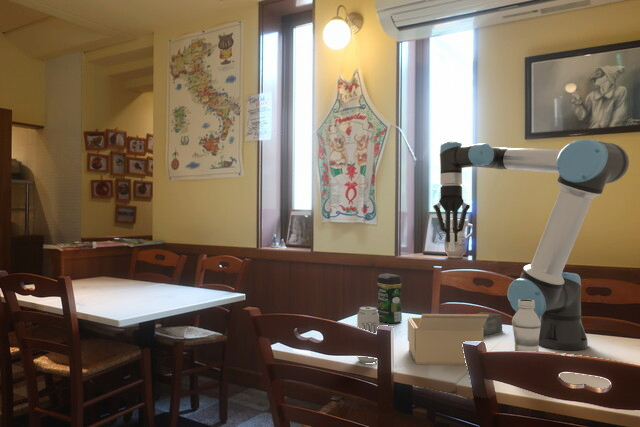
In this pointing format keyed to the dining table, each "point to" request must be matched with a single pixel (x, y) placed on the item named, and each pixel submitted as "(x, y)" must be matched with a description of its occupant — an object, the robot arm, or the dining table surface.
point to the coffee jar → (389, 298)
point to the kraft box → (439, 344)
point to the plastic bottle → (526, 326)
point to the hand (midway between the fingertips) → (451, 251)
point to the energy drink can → (368, 325)
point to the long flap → (452, 321)
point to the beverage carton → (492, 323)
